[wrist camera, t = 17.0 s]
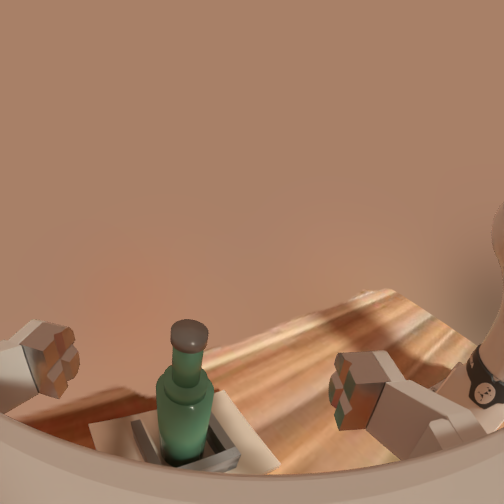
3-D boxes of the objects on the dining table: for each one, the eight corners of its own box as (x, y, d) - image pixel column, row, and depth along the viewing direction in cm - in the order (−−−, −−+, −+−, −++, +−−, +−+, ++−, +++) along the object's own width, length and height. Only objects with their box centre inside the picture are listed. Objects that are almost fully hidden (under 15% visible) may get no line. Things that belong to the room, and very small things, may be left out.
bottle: (191, 429, 34) (205, 305, 25) (211, 460, 30) (237, 345, 22) (153, 440, 31) (145, 315, 22) (171, 474, 27) (170, 362, 19)
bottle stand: (223, 394, 41) (228, 372, 39) (278, 467, 31) (290, 450, 29) (89, 428, 30) (81, 406, 28) (127, 523, 20) (119, 513, 18)
